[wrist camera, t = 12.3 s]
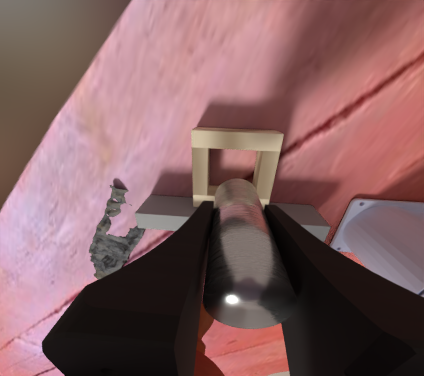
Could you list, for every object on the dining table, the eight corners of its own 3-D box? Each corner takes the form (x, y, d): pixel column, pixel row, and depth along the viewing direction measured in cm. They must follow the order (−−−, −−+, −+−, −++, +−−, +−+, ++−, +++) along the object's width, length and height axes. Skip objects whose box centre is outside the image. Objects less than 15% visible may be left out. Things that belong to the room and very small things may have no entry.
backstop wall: (311, 205, 20) (330, 226, 16) (307, 218, 21) (324, 241, 17) (150, 194, 21) (134, 213, 17) (152, 208, 22) (138, 227, 18)
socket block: (275, 130, 16) (284, 134, 14) (262, 199, 20) (266, 211, 18) (195, 126, 17) (191, 130, 14) (196, 195, 20) (193, 206, 18)
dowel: (262, 181, 11) (311, 283, 5) (252, 217, 12) (280, 333, 6) (217, 175, 11) (206, 268, 5) (212, 212, 12) (199, 322, 6)
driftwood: (117, 281, 31) (110, 292, 29) (82, 266, 29) (72, 277, 28) (164, 205, 22) (159, 214, 21) (117, 179, 21) (107, 186, 19)
